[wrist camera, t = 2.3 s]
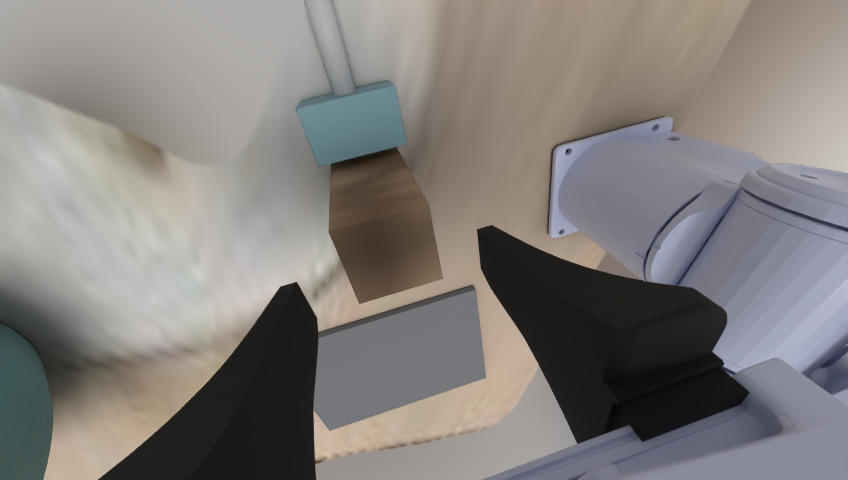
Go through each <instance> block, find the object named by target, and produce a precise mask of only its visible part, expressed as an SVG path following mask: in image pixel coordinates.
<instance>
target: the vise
mask: <svg viewBox="0 0 848 480" xmlns="http://www.w3.org/2000/svg"><path fill="white" fill-rule="evenodd" d="M304 3H305V6H306V9H307V12H308V15H309V18H310V22H311V25H312V28H313V31H314V34H315V37H316V40H317V43H318V47H319V50H320V53H321V56H322V59H323V62H324V65H325V69H326V72H327V75H328V78H329V81H330V84H331V87H332V90H333V93H332V94H328V95H324V96H319V97H315V98H311V99H307V100H302V101H300V103H299V105H298V106H297V108H296V111H297V113H298V116H299V118H300V121H301V123H302V126H303V128H304V131H305V133H306V136H307V139H308V141H309V144H310V146H311V149H312V151H313V154H314V156H315V159H316V161H317V164H318V167H320V166H324V165H328V164H331V163H335V162H339V161H343V160H347V159H351V158H355V157H359V156H362V155H366V154H370V153H374V152H378V151H382V150H386V149H390V148H393V147H397V146H401V145H405V144H407V140H406V135H405V131H404V126H403V121H402V117H401V112H400V107H399V103H398V98H397V93H396V88H395V85H394V84H392V83H391V82H390V81H388V80H387V81H383V82H379V83H374V84H370V85H366V86H362V87H357V88H356V87H355V83H354V80H353V76H352V73H351V69H350V65H349V62H348V58H347V55H346V51H345V47H344V44H343V40H342V37H341V33H340V30H339V26H338V22H337V19H336V15H335V12H334V8H333V4H332V1H331V0H304Z"/></svg>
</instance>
